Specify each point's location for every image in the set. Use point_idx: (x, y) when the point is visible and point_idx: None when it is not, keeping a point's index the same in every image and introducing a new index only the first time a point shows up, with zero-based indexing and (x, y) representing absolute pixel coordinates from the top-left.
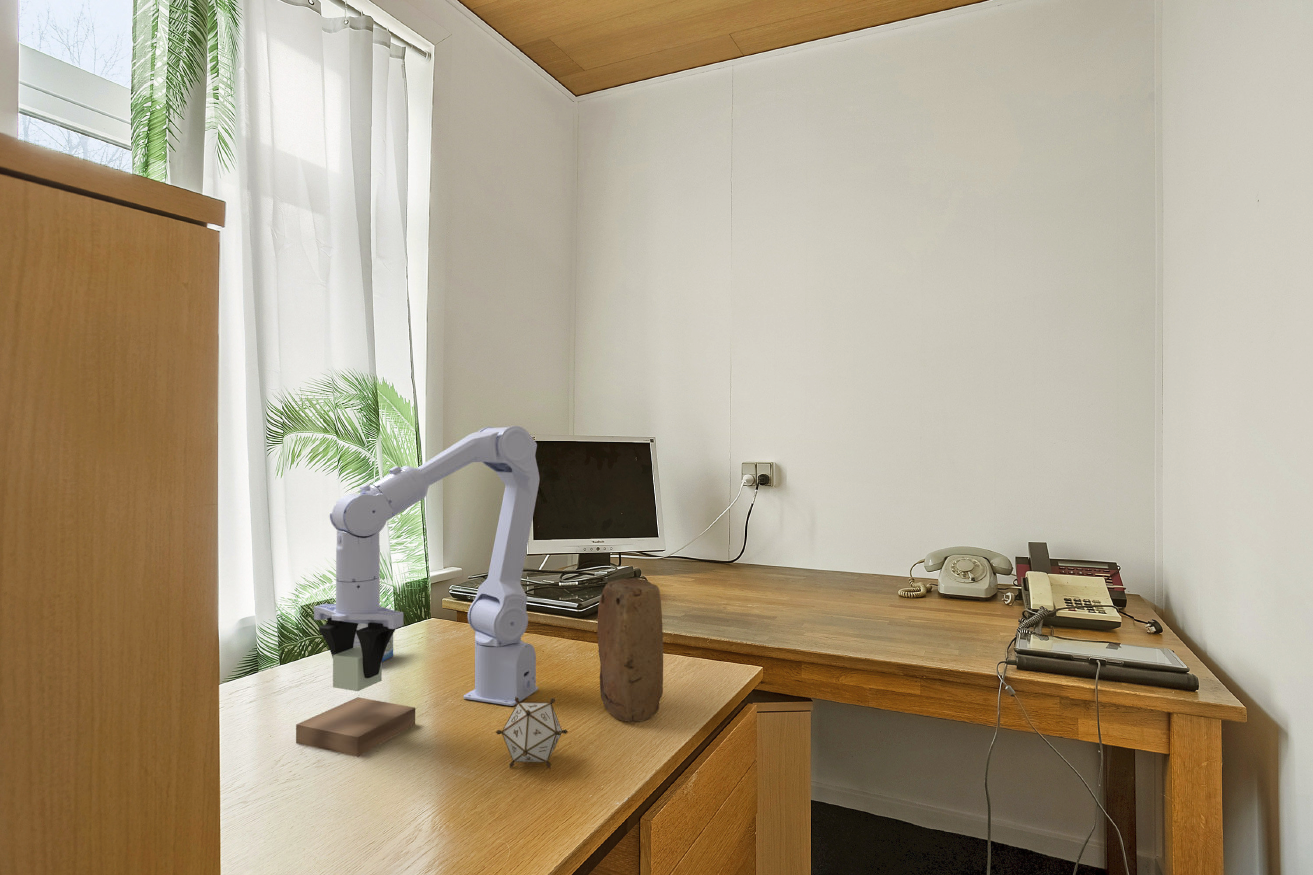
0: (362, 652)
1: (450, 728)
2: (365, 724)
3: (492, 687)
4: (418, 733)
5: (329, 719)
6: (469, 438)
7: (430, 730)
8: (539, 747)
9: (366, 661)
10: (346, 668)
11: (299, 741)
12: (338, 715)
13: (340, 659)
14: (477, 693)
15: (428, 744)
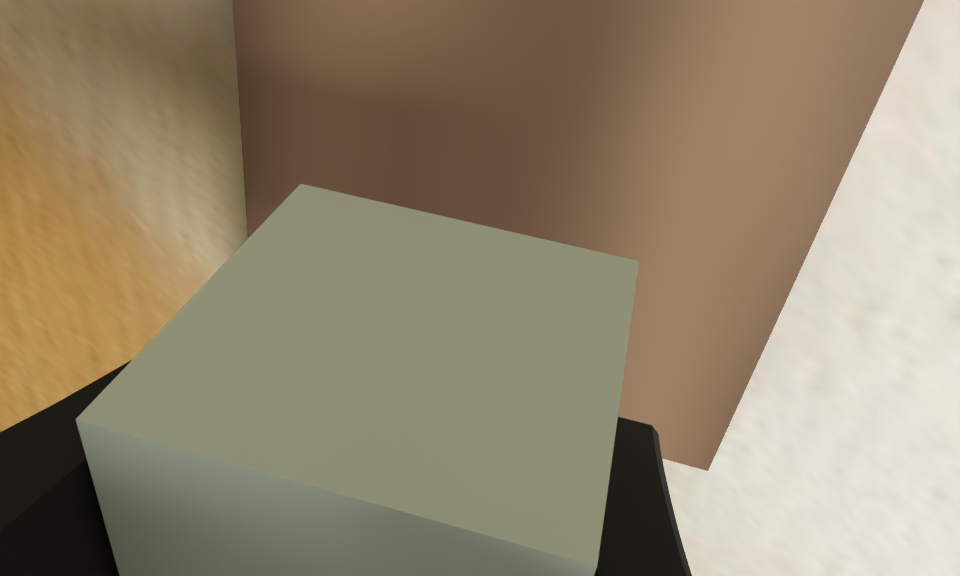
0: (6, 520)
1: (111, 262)
2: (344, 68)
3: None
4: (204, 193)
5: (681, 112)
6: None
7: (177, 232)
8: None
9: (59, 417)
10: (366, 356)
11: None
12: (654, 190)
13: (441, 472)
14: None
15: (53, 73)
